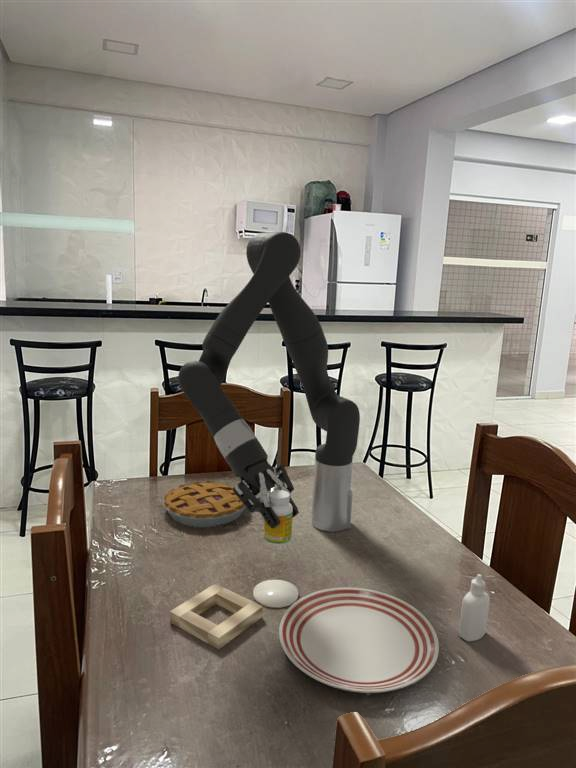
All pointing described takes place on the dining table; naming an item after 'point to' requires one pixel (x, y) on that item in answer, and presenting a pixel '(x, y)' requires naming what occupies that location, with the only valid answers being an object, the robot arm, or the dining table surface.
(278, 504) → the supplement bottle
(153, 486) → the dining table surface
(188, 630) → the birch pocket block
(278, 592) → the pale ceramic coaster
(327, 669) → the dinner plate
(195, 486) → the pie
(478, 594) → the eye dropper bottle
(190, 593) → the dining table surface
